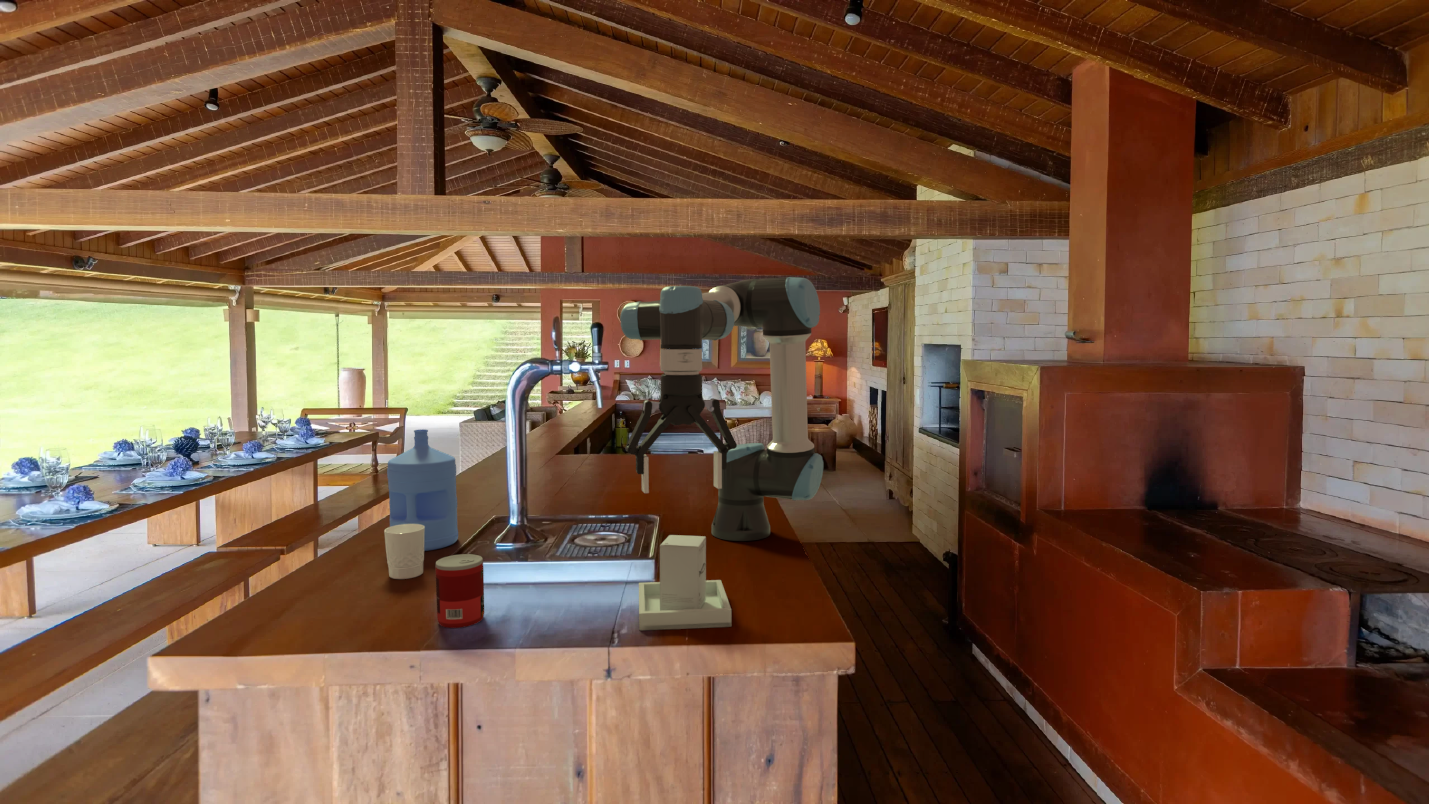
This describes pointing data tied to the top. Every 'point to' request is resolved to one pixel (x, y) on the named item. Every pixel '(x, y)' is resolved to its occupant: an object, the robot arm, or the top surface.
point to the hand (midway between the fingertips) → (681, 489)
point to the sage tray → (708, 616)
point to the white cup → (405, 550)
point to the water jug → (424, 492)
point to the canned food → (460, 590)
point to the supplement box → (682, 572)
